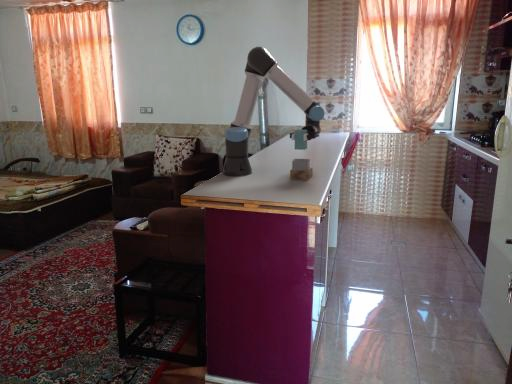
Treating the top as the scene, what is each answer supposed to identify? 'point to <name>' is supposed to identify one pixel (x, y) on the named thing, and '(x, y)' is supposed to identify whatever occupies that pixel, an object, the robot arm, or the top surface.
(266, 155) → the top surface
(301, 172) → the tower base
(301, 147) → the column block
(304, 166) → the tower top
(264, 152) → the top surface
